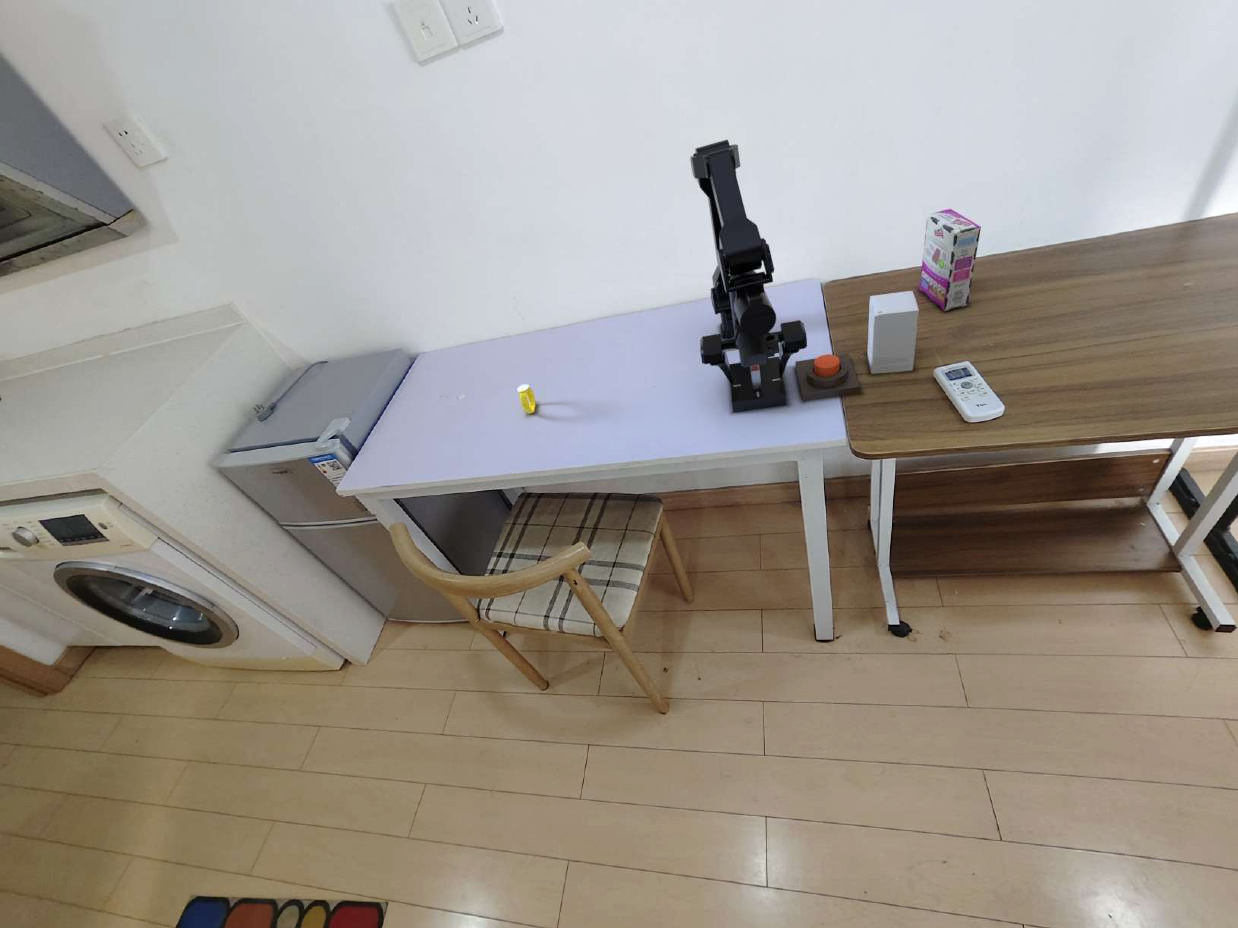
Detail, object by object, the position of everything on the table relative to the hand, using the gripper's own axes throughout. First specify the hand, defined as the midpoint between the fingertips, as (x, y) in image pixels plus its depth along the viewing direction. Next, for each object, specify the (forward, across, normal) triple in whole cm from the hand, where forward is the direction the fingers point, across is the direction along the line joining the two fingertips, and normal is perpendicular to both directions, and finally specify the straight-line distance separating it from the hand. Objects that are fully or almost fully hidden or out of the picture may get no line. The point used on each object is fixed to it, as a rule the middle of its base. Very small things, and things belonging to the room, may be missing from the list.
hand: (756, 379), depth 111 cm
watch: (+4, -49, +6) cm, 49 cm away
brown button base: (+3, +13, +1) cm, 13 cm away
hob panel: (+3, 0, +2) cm, 4 cm away
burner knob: (+1, 0, 0) cm, 1 cm away
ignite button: (0, +13, 0) cm, 13 cm away
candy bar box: (+4, +40, +24) cm, 47 cm away
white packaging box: (+4, +25, +4) cm, 26 cm away
